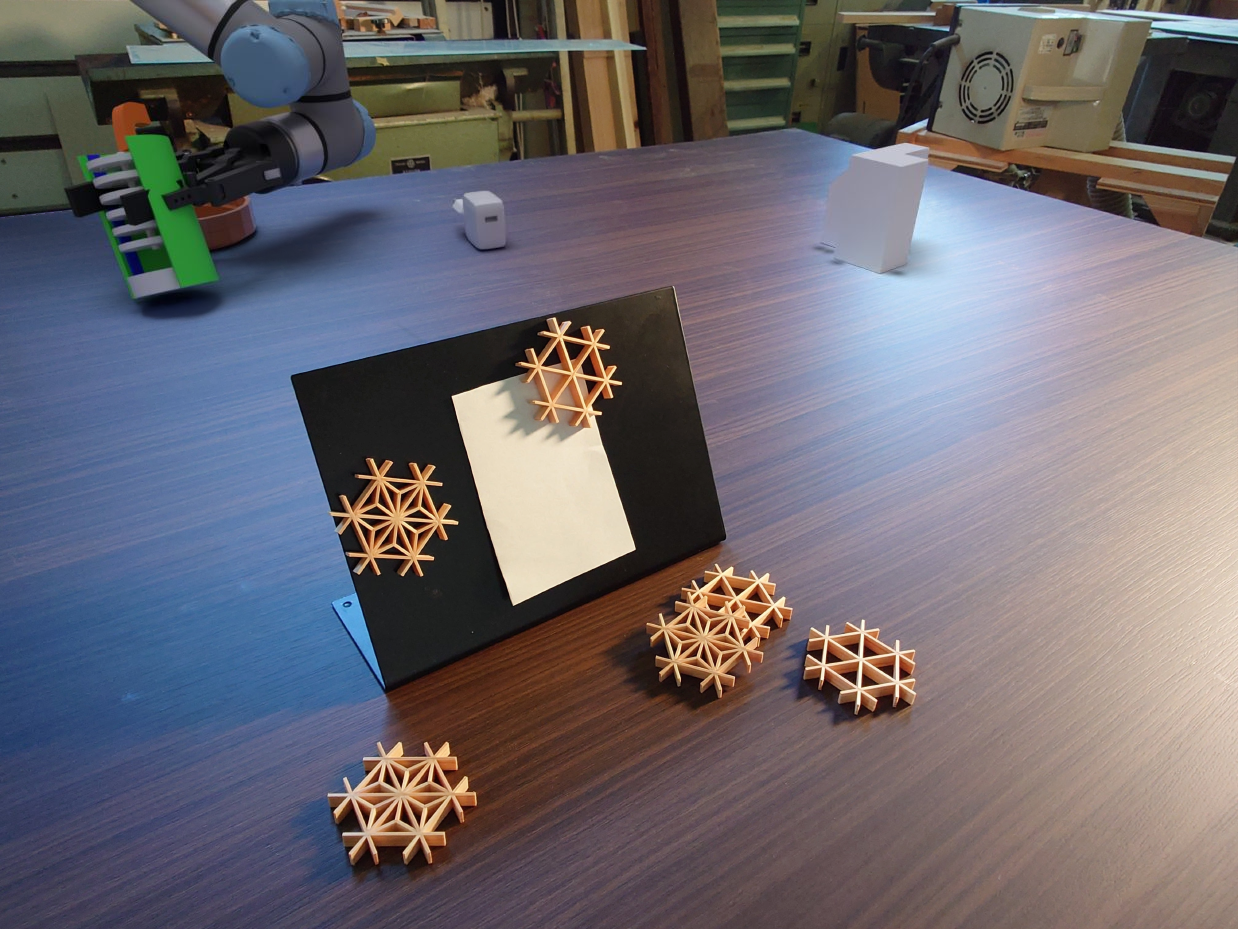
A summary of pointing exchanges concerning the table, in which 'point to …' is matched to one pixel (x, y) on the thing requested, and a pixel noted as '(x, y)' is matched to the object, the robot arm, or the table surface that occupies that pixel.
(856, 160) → the white notched block
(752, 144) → the table surface
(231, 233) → the bowl
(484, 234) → the power adapter
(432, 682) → the table surface
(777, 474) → the table surface
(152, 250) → the green-shelled ribbed roller
